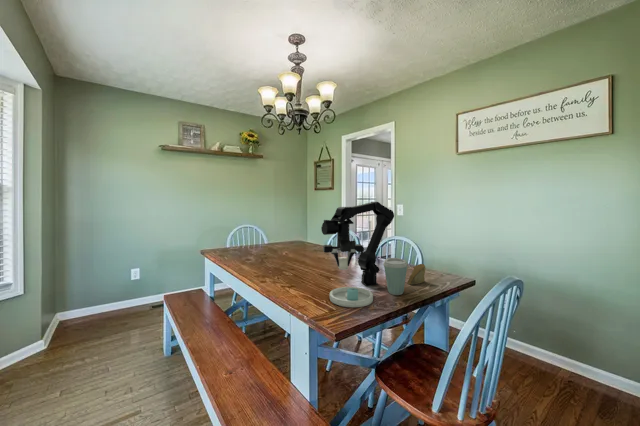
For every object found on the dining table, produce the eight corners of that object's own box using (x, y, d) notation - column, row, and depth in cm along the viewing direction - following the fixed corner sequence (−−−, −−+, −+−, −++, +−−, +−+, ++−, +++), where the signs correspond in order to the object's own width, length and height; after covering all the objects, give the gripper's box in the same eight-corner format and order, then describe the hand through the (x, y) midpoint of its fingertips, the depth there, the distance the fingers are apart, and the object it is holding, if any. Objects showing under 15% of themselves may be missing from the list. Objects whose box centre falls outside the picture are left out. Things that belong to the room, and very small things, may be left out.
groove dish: (362, 290, 132) (362, 285, 132) (380, 304, 115) (380, 298, 115) (324, 294, 127) (324, 289, 127) (337, 309, 110) (337, 303, 110)
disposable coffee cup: (411, 296, 125) (412, 262, 124) (388, 297, 123) (388, 263, 122) (401, 288, 135) (401, 257, 134) (379, 289, 133) (379, 258, 133)
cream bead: (345, 267, 138) (345, 256, 138) (349, 269, 134) (349, 258, 134) (337, 267, 137) (337, 257, 137) (340, 270, 133) (340, 259, 133)
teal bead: (345, 302, 115) (345, 290, 115) (350, 299, 119) (350, 287, 119) (354, 304, 113) (354, 292, 112) (360, 301, 116) (360, 289, 116)
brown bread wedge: (410, 282, 137) (430, 279, 138) (404, 265, 142) (424, 262, 142) (405, 289, 146) (424, 286, 147) (400, 274, 151) (418, 271, 152)
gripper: (325, 236, 126) (325, 271, 127) (367, 235, 128) (366, 270, 128) (322, 233, 137) (322, 265, 138) (361, 232, 139) (360, 264, 139)
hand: (343, 266), depth 136 cm, fingers closed on cream bead, 4 cm apart
